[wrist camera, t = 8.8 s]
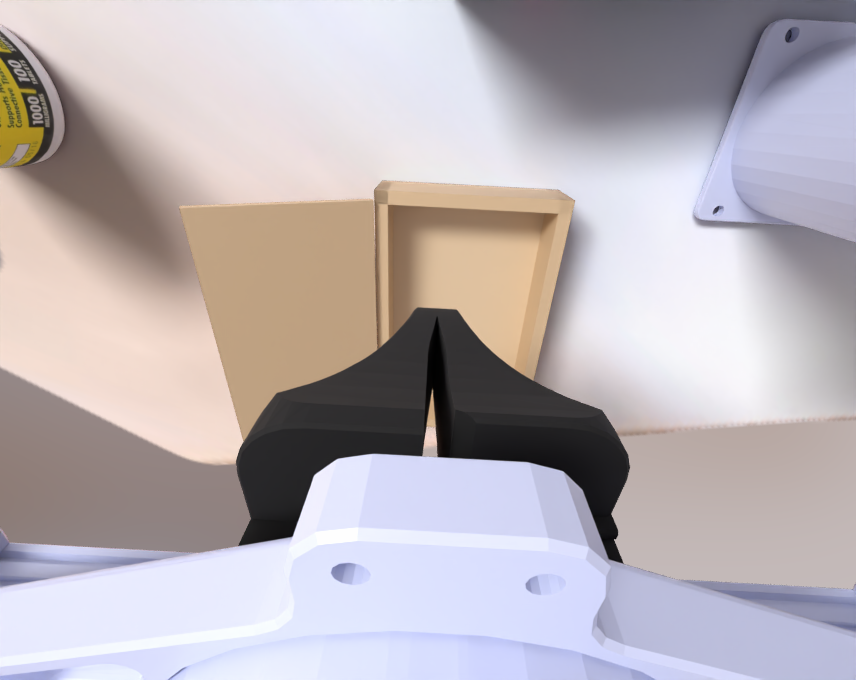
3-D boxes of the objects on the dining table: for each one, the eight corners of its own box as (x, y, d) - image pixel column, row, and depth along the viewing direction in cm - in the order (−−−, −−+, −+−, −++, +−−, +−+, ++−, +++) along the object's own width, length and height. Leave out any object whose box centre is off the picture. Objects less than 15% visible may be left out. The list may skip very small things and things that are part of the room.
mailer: (558, 190, 20) (575, 200, 17) (514, 402, 27) (521, 431, 24) (382, 180, 20) (374, 189, 17) (385, 395, 27) (379, 423, 24)
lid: (179, 208, 14) (180, 205, 15) (248, 457, 21) (247, 451, 21) (373, 200, 17) (369, 198, 17) (379, 422, 24) (376, 417, 24)
